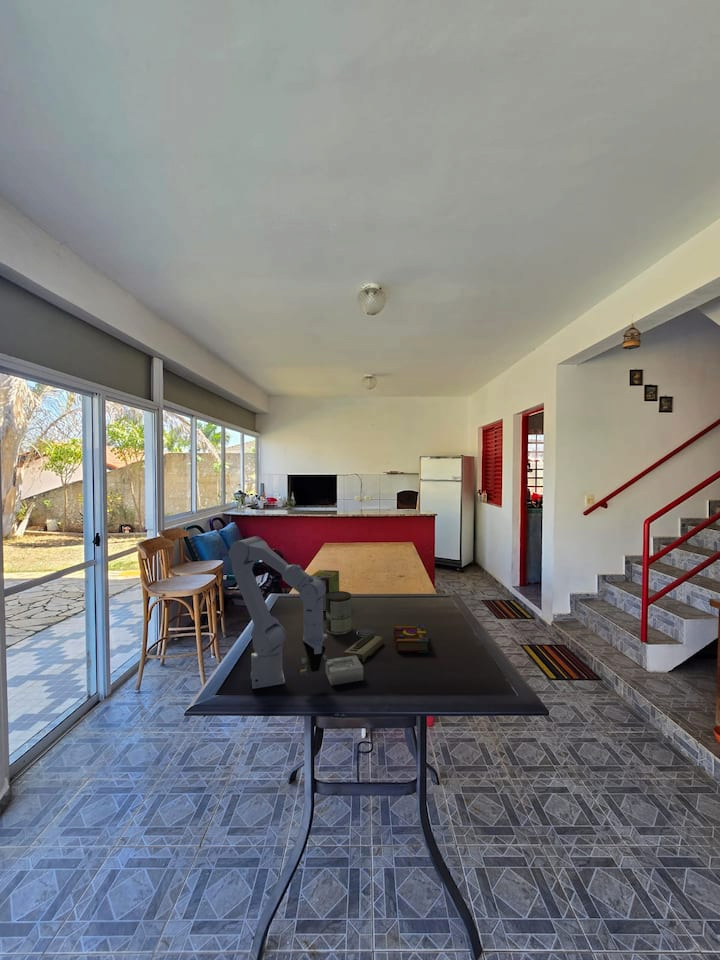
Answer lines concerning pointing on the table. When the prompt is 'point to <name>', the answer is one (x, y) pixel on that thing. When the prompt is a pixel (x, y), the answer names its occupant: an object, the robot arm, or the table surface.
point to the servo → (308, 670)
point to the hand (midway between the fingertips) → (313, 667)
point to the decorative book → (410, 638)
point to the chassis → (344, 670)
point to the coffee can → (338, 612)
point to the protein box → (328, 582)
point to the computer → (364, 647)
